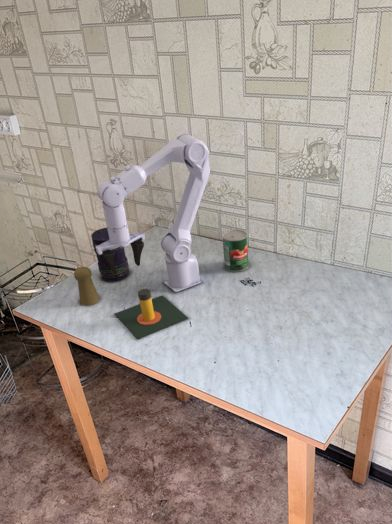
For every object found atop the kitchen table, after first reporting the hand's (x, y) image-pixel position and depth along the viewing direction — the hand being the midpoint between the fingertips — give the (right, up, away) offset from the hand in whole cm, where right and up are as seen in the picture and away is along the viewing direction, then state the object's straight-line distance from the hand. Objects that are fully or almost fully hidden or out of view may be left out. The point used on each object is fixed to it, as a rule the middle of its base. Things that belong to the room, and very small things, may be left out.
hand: (126, 268), depth 151 cm
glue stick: (+7, -15, -5) cm, 17 cm away
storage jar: (-6, +1, +20) cm, 21 cm away
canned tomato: (+34, +3, +16) cm, 38 cm away
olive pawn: (-12, -9, +8) cm, 17 cm away
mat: (+8, -14, -3) cm, 17 cm away
